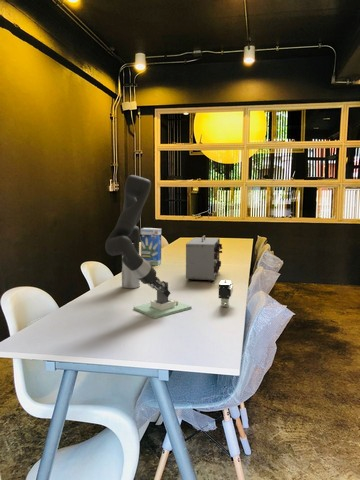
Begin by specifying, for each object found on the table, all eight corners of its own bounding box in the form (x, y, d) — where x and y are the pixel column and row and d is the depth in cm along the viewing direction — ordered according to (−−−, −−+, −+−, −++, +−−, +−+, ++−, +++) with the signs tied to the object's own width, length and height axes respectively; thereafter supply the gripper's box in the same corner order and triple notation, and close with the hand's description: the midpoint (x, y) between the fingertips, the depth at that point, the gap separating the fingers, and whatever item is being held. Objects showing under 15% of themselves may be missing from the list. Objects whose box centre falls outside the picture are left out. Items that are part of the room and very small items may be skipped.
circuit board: (155, 318, 150) (155, 310, 150) (133, 309, 162) (133, 301, 162) (191, 308, 163) (191, 300, 163) (168, 300, 175) (168, 293, 175)
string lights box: (140, 264, 266) (140, 228, 262) (145, 262, 273) (144, 227, 270) (158, 265, 262) (157, 229, 258) (161, 263, 269) (161, 228, 266)
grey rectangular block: (161, 306, 160) (161, 283, 159) (157, 304, 163) (156, 282, 162) (168, 304, 162) (168, 282, 161) (163, 303, 165) (163, 281, 164)
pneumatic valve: (217, 309, 162) (218, 282, 160) (221, 302, 173) (221, 276, 171) (230, 310, 160) (231, 283, 159) (233, 302, 172) (233, 277, 170)
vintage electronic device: (217, 283, 209) (217, 239, 206) (185, 281, 213) (185, 238, 210) (222, 271, 240) (222, 233, 237) (194, 270, 244) (194, 233, 241)
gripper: (158, 266, 150) (181, 290, 159) (138, 261, 161) (161, 284, 170) (147, 280, 147) (171, 304, 157) (128, 274, 158) (151, 297, 167)
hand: (166, 293), depth 163 cm, fingers closed on grey rectangular block, 3 cm apart
